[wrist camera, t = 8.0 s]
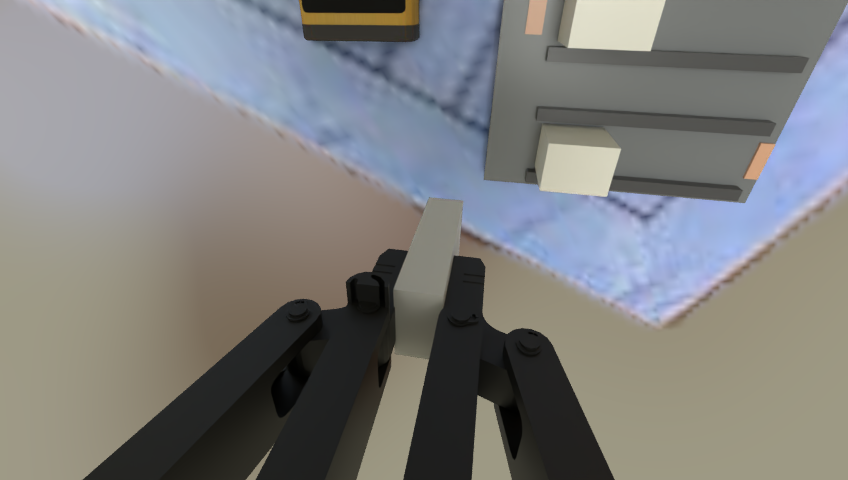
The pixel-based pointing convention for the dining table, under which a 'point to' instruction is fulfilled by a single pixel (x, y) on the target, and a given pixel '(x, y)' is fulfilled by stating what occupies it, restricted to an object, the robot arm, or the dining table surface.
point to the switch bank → (661, 92)
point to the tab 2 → (576, 159)
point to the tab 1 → (610, 24)
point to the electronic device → (360, 20)
